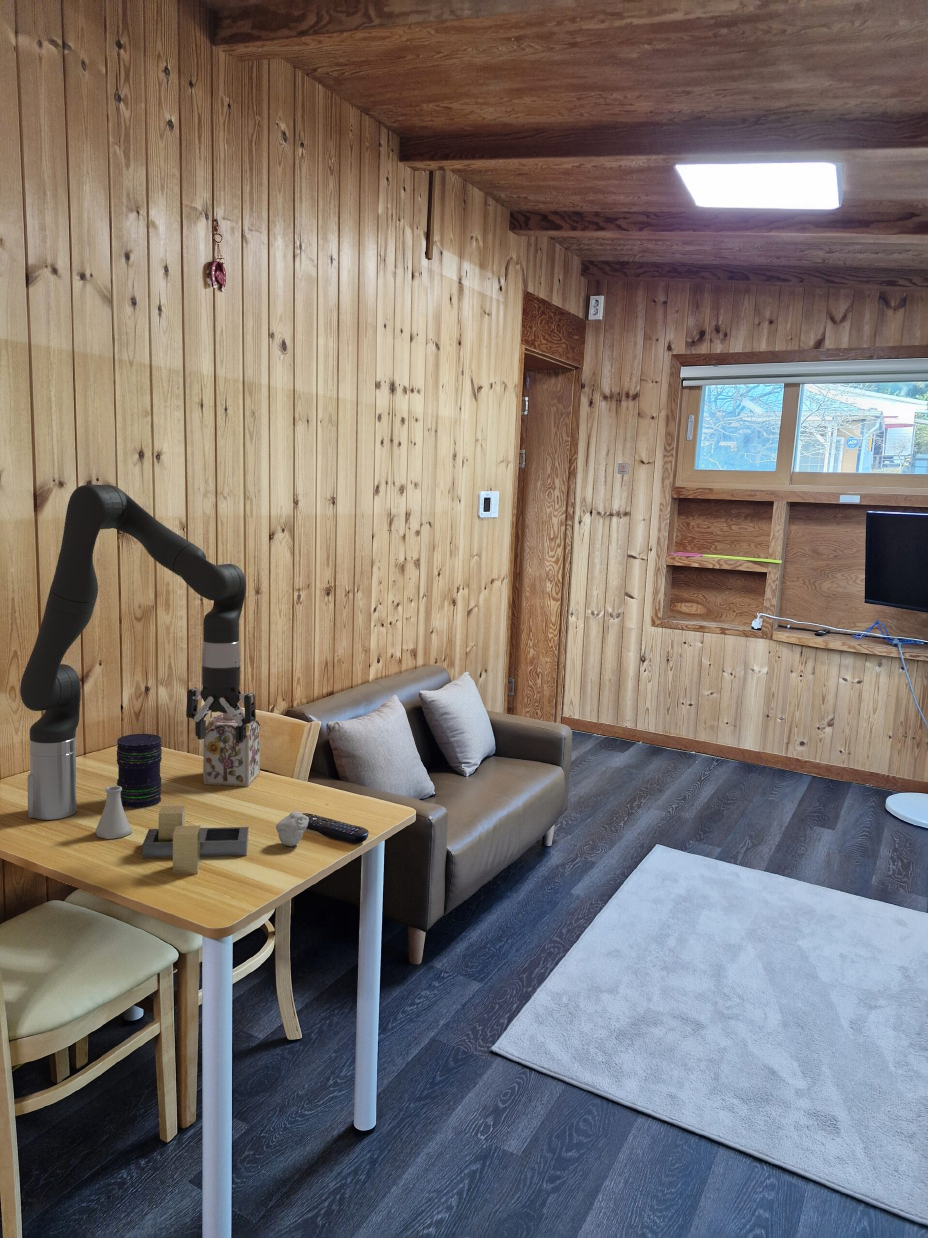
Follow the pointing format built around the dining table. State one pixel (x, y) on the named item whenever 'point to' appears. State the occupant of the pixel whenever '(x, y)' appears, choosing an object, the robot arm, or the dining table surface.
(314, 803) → the dining table surface
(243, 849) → the grey slotted tray
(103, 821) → the flask
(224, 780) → the decorative jar
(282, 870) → the dining table surface
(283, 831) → the frog figurine
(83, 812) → the dining table surface
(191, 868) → the beige wooden block
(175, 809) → the block
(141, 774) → the storage jar
